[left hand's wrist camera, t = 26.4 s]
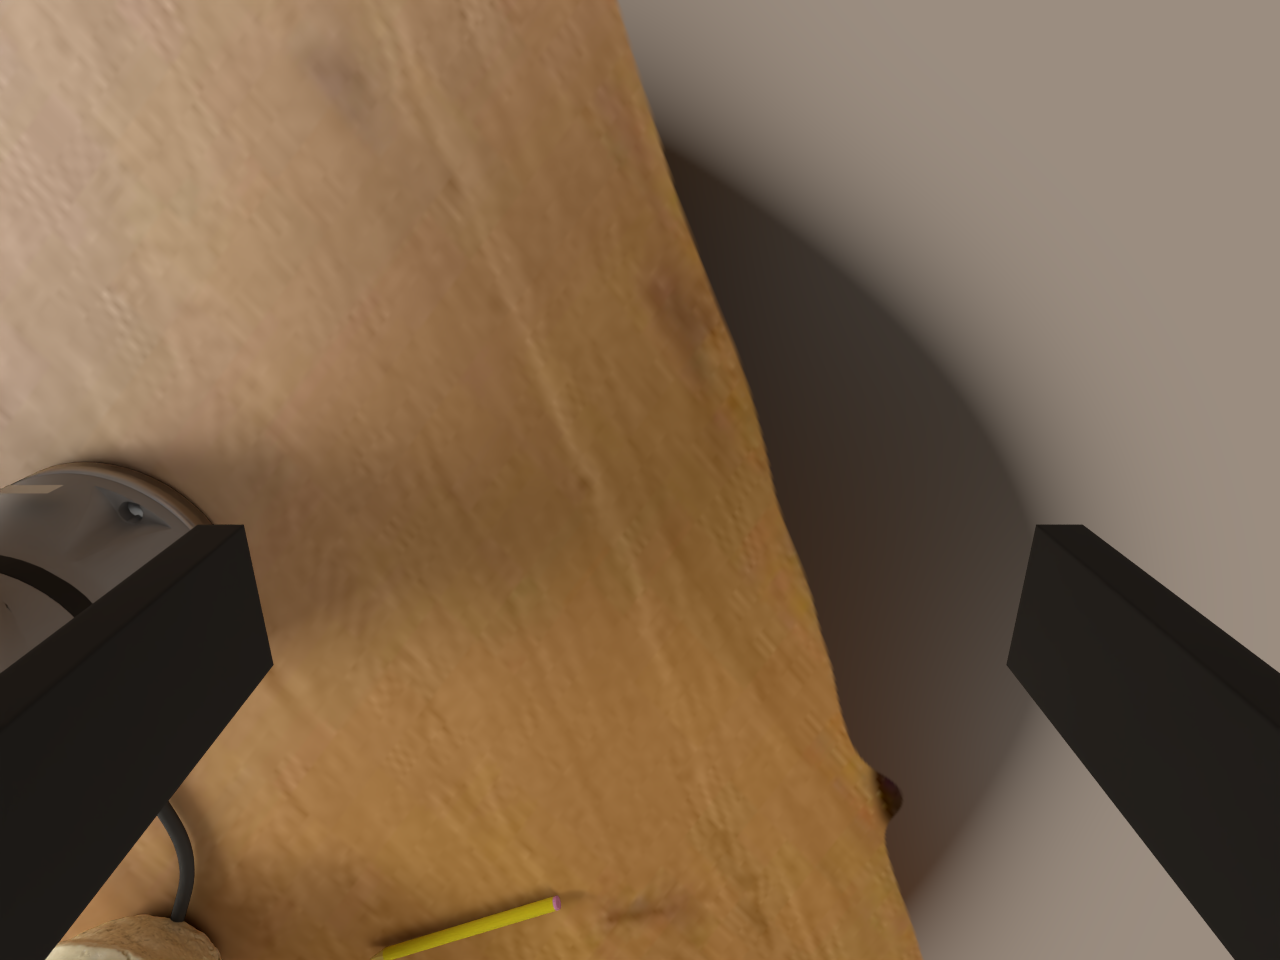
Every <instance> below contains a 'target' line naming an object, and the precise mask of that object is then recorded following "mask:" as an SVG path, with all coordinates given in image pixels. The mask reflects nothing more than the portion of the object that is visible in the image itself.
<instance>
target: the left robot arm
mask: <svg viewBox="0 0 1280 960" xmlns="http://www.w3.org/2000/svg"><path fill="white" fill-rule="evenodd" d="M272 666H273V660H272V656H271V651H270V646H269V642H268V637H267V632H266V627H265V623H264V618H263V613H262V609H261V604H260V599H259V594H258V590H257V585H256V580H255V576H254V571H253V566H252V561H251V557H250V552H249V547H248V543H247V538H246V533H245V528H244V525H213V524H212V523H211V522H210V521H209V520H208V519H207V518H206V516H205V515H204V514H203V513H202V512H201V511H200V510H199V509H198V508H197V507H196V506H194V505H193V504H192V503H191V502H190V501H189V500H187V499H186V498H185V497H184V496H182V495H181V494H179V493H178V492H177V491H175V490H174V489H172V488H170V487H169V486H167V485H165V484H164V483H162V482H160V481H158V480H156V479H154V478H152V477H150V476H147V475H145V474H143V473H140V472H137V471H134V470H131V469H128V468H125V467H121V466H116V465H112V464H105V463H95V462H74V463H66V464H61V465H56V466H52V467H49V468H46V469H43V470H41V471H39V472H37V473H34V474H32V475H30V476H28V477H26V478H24V479H21V480H19V481H17V482H15V483H13V484H11V485H8V486H6V487H4V488H2V489H0V960H45V959H46V958H47V957H48V956H49V954H50V953H51V952H52V950H53V949H54V948H55V946H56V945H57V944H58V943H59V941H60V940H61V939H62V937H63V936H64V935H65V934H66V932H67V931H68V930H69V928H70V927H71V926H72V925H73V923H74V922H75V921H76V919H77V918H78V917H79V915H80V914H81V913H82V912H83V910H84V909H85V908H86V906H87V905H88V904H89V903H90V901H91V900H92V899H93V897H94V896H95V895H96V894H97V892H98V891H99V890H100V888H101V887H102V886H103V884H104V883H105V882H106V881H107V879H108V878H109V877H110V875H111V874H112V873H113V872H114V870H115V869H116V868H117V866H118V865H119V864H120V863H121V861H122V860H123V859H124V857H125V856H126V855H127V853H128V852H129V851H130V850H131V848H132V847H133V846H134V844H135V843H136V842H137V841H138V839H139V838H140V837H141V835H142V834H143V833H144V831H145V830H146V829H147V828H148V826H149V825H150V824H151V822H152V821H153V820H154V819H155V817H156V816H158V818H159V819H160V821H161V822H162V824H163V825H164V827H165V829H166V830H167V832H168V834H169V836H170V838H171V840H172V842H173V844H174V847H175V850H176V853H177V857H178V861H179V869H180V879H179V887H178V891H177V895H176V899H175V903H174V906H173V910H172V914H171V918H170V919H171V921H173V922H183V921H184V919H185V915H186V911H187V908H188V904H189V901H190V897H191V894H192V889H193V884H194V857H193V851H192V847H191V843H190V840H189V837H188V835H187V832H186V830H185V828H184V826H183V824H182V822H181V820H180V819H179V817H178V815H177V814H176V812H175V811H174V809H173V808H172V806H171V804H170V803H169V801H168V800H169V799H170V798H171V797H172V795H173V794H174V793H175V791H176V790H177V789H178V788H179V786H180V785H181V784H182V782H183V781H184V780H185V779H186V777H187V776H188V775H189V773H190V772H191V771H192V769H193V768H194V767H195V766H196V764H197V763H198V762H199V760H200V759H201V758H202V757H203V755H204V754H205V753H206V751H207V750H208V749H209V748H210V746H211V745H212V744H213V742H214V741H215V740H216V738H217V737H218V736H219V735H220V733H221V732H222V731H223V729H224V728H225V727H226V726H227V724H228V723H229V722H230V720H231V719H232V718H233V716H234V715H235V714H236V713H237V711H238V710H239V709H240V707H241V706H242V705H243V704H244V702H245V701H246V700H247V698H248V697H249V696H250V695H251V693H252V692H253V691H254V689H255V688H256V687H257V685H258V684H259V683H260V682H261V680H262V679H263V678H264V676H265V675H266V674H267V673H268V671H269V670H270V669H271V667H272ZM1007 666H1008V667H1009V669H1010V670H1011V671H1012V673H1013V674H1014V675H1015V676H1016V678H1017V679H1018V680H1019V682H1020V683H1021V684H1022V685H1023V687H1024V688H1025V689H1026V691H1027V692H1028V693H1029V695H1030V696H1031V697H1032V698H1033V700H1034V701H1035V702H1036V704H1037V705H1038V706H1039V707H1040V709H1041V710H1042V711H1043V713H1044V714H1045V715H1046V716H1047V718H1048V719H1049V720H1050V722H1051V723H1052V724H1053V726H1054V727H1055V728H1056V729H1057V731H1058V732H1059V733H1060V734H1061V736H1062V737H1063V738H1064V740H1065V741H1066V742H1067V744H1068V745H1069V746H1070V748H1071V749H1072V750H1073V751H1074V753H1075V754H1076V755H1077V757H1078V758H1079V759H1080V760H1081V762H1082V763H1083V764H1084V765H1085V767H1086V768H1087V769H1088V771H1089V772H1090V773H1091V775H1092V776H1093V777H1094V778H1095V780H1096V781H1097V782H1098V784H1099V785H1100V786H1101V787H1102V789H1103V790H1104V791H1105V793H1106V794H1107V795H1108V797H1109V798H1110V799H1111V800H1112V802H1113V803H1114V804H1115V806H1116V807H1117V808H1118V809H1119V811H1120V812H1121V813H1122V815H1123V816H1124V817H1125V819H1126V820H1127V821H1128V822H1129V824H1130V825H1131V826H1132V828H1133V829H1134V830H1135V831H1136V833H1137V834H1138V835H1139V837H1140V838H1141V839H1142V840H1143V842H1144V843H1145V844H1146V846H1147V847H1148V848H1149V850H1150V851H1151V852H1152V853H1153V855H1154V856H1155V857H1156V859H1157V860H1158V861H1159V863H1160V864H1161V865H1162V866H1163V868H1164V869H1165V870H1166V871H1167V873H1168V874H1169V875H1170V877H1171V878H1172V879H1173V881H1174V882H1175V883H1176V884H1177V886H1178V887H1179V888H1180V890H1181V891H1182V892H1183V894H1184V895H1185V896H1186V897H1187V899H1188V900H1189V901H1190V903H1191V904H1192V905H1193V906H1194V908H1195V909H1196V910H1197V912H1198V913H1199V914H1200V915H1201V917H1202V918H1203V919H1204V921H1205V922H1206V923H1207V925H1208V926H1209V927H1210V928H1211V930H1212V931H1213V932H1214V934H1215V935H1216V936H1217V937H1218V939H1219V940H1220V941H1221V943H1222V944H1223V945H1224V946H1225V948H1226V949H1227V950H1228V952H1229V953H1230V954H1231V955H1232V957H1233V958H1234V959H1235V960H1280V673H1279V672H1277V671H1276V670H1275V669H1273V668H1272V667H1271V666H1269V665H1268V664H1267V663H1265V662H1264V661H1263V660H1261V659H1260V658H1259V657H1257V656H1256V655H1255V654H1253V653H1252V652H1251V651H1249V650H1248V649H1247V648H1246V647H1244V646H1243V645H1241V644H1240V643H1239V642H1238V641H1236V640H1235V639H1234V638H1232V637H1231V636H1230V635H1228V634H1227V633H1226V632H1224V631H1223V630H1222V629H1220V628H1219V627H1218V626H1216V625H1215V624H1214V623H1212V622H1211V621H1210V620H1208V619H1207V618H1206V617H1204V616H1203V615H1202V614H1200V613H1199V612H1198V611H1196V610H1195V609H1194V608H1192V607H1191V606H1190V605H1188V604H1187V603H1186V602H1184V601H1183V600H1182V599H1180V598H1179V597H1178V596H1177V595H1175V594H1174V593H1173V592H1171V591H1170V590H1169V589H1167V588H1166V587H1165V586H1163V585H1162V584H1161V583H1159V582H1158V581H1157V580H1155V579H1154V578H1153V577H1151V576H1150V575H1148V574H1147V573H1146V572H1145V571H1143V570H1142V569H1141V568H1139V567H1138V566H1137V565H1135V564H1134V563H1133V562H1131V561H1130V560H1129V559H1127V558H1126V557H1125V556H1123V555H1122V554H1121V553H1119V552H1118V551H1117V550H1115V549H1114V548H1113V547H1111V546H1110V545H1109V544H1108V543H1106V542H1105V541H1103V540H1102V539H1101V538H1100V537H1098V536H1097V535H1096V534H1094V533H1093V532H1092V531H1090V530H1089V529H1088V528H1086V527H1085V526H1084V525H1036V528H1035V533H1034V538H1033V543H1032V547H1031V552H1030V557H1029V562H1028V566H1027V571H1026V576H1025V580H1024V585H1023V590H1022V594H1021V599H1020V604H1019V609H1018V613H1017V618H1016V623H1015V627H1014V632H1013V637H1012V641H1011V646H1010V651H1009V656H1008V660H1007Z"/></svg>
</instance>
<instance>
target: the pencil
mask: <svg viewBox="0 0 1280 960" xmlns="http://www.w3.org/2000/svg"><path fill="white" fill-rule="evenodd" d="M560 908H561V902H560V898H559V897H558V896H553V897H550V898H546V899H543V900H540V901H537V902H533V903H530V904H527V905H523V906H520V907H517V908H513V909H510V910H507V911H504V912H500V913H497V914H494V915H490V916H487V917H484V918H481V919H477V920H474V921H471V922H467V923H464V924H461V925H457V926H454V927H451V928H448V929H444V930H441V931H438V932H434V933H431V934H428V935H425V936H421V937H418V938H415V939H411V940H408V941H405V942H401V943H398V944H395V945H392V946H388V947H385V948H384V949H383V950H381V951H380V952H379V953H377V954H376V955H375V956H374V957H372V958H371V960H393V959H397V958H400V957H403V956H407V955H410V954H413V953H417V952H420V951H423V950H427V949H430V948H433V947H437V946H440V945H443V944H447V943H450V942H453V941H457V940H460V939H463V938H467V937H470V936H473V935H477V934H480V933H483V932H487V931H490V930H493V929H497V928H500V927H503V926H507V925H510V924H513V923H517V922H520V921H523V920H527V919H530V918H533V917H537V916H540V915H543V914H547V913H550V912H553V911H557V910H560Z"/></svg>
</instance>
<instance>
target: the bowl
mask: <svg viewBox="0 0 1280 960" xmlns="http://www.w3.org/2000/svg"><path fill="white" fill-rule="evenodd" d="M220 956H221V955H220V952H219V950H218V949H217V948H216V947H215V946H214V945H213V943H211V941H210V940H209V938H208V937H207V936H206V935H205V933H203V932H201V931H199V930H197V929H195V928H194V927H192V926H191V925H189V924H187V923H186V922H184V921H183V922H173V921H171V919H170V918H166V917H157V916H155V917H154V916H151V915H149V914H142V915H135V916H128V917H124V918H120V919H117V920H112V921H109V922H106V923H104V924H102V925H99V926H97V927H95V928H92V929H90V930H87V931H85V932H83V933H81V934H79V935H77V936H76V937H74V938H72V939H70V940H68V941H63V942H59V943H58V944H57V945H56V946H55V948H54V949H53V950H52V952H51V953H50V954H49V956H48V957H47V958H46V959H45V960H222V959H221V957H220Z"/></svg>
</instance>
